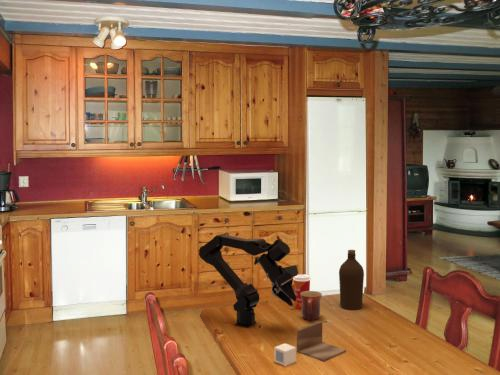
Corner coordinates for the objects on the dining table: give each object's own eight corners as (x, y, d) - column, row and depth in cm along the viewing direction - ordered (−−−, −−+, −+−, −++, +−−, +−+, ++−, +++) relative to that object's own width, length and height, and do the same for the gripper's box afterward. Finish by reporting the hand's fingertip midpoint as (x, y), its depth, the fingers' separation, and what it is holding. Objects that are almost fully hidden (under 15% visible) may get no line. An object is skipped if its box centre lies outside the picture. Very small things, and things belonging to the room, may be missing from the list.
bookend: (296, 351, 188) (296, 329, 187) (319, 342, 196) (319, 321, 195) (323, 362, 179) (323, 338, 178) (346, 352, 187) (346, 329, 186)
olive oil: (347, 311, 230) (348, 253, 227) (334, 304, 239) (334, 249, 237) (368, 308, 234) (369, 251, 231) (354, 301, 243) (354, 246, 241)
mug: (301, 314, 227) (301, 290, 226) (322, 315, 225) (322, 291, 225) (298, 323, 216) (298, 298, 215) (320, 325, 214) (320, 299, 213)
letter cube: (274, 362, 180) (274, 347, 179) (284, 357, 183) (284, 343, 183) (285, 366, 176) (285, 351, 175) (295, 361, 179) (295, 347, 179)
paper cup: (291, 305, 239) (291, 274, 238) (308, 304, 240) (308, 273, 239) (294, 310, 232) (294, 278, 230) (312, 310, 232) (312, 278, 231)
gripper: (292, 250, 200) (316, 286, 195) (285, 263, 217) (307, 297, 212) (266, 265, 197) (290, 302, 192) (262, 278, 214) (283, 312, 209)
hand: (293, 303), depth 202 cm, fingers open, 9 cm apart
